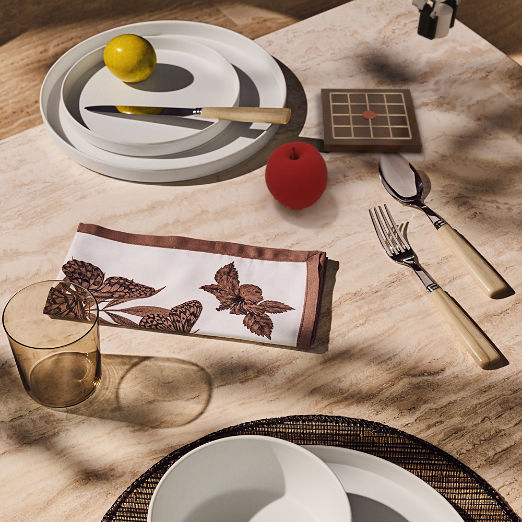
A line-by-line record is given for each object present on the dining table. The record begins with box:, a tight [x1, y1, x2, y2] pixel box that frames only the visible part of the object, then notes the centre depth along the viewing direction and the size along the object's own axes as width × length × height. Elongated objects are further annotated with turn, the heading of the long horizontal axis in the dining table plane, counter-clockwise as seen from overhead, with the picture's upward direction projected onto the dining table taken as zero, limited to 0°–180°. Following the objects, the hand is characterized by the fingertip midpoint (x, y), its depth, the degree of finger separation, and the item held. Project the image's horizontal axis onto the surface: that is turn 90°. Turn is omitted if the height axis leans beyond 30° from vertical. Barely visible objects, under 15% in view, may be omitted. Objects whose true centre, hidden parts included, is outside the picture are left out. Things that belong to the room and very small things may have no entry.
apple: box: [264, 141, 329, 211], centre depth 96 cm, size 9×9×10 cm
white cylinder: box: [429, 2, 453, 40], centre depth 112 cm, size 4×4×4 cm
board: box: [320, 88, 423, 153], centre depth 110 cm, size 15×15×2 cm
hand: (435, 29), depth 113 cm, fingers closed on white cylinder, 4 cm apart
